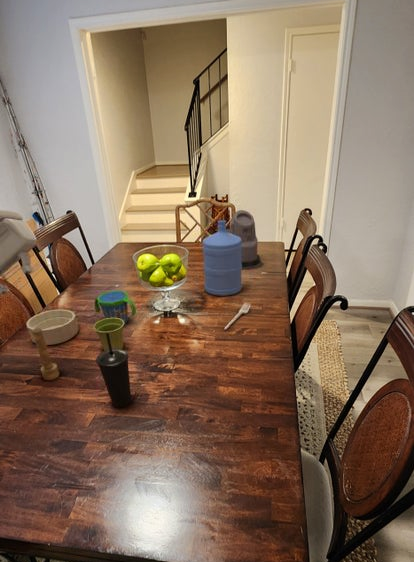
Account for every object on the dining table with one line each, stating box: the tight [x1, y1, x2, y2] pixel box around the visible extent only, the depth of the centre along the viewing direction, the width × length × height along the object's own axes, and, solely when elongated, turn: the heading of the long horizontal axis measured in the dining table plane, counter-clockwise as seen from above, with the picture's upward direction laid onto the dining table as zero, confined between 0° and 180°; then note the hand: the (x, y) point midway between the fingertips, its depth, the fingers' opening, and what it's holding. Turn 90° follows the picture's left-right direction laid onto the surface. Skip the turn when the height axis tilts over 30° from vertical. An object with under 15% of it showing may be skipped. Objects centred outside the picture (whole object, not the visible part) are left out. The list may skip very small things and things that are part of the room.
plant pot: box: [92, 318, 125, 352], centre depth 117 cm, size 9×9×9 cm
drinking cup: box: [95, 333, 132, 408], centre depth 90 cm, size 8×8×20 cm
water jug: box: [202, 219, 243, 297], centre depth 150 cm, size 16×16×28 cm
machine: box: [226, 209, 263, 270], centre depth 183 cm, size 30×16×24 cm, turn 19°
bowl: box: [25, 308, 80, 346], centre depth 127 cm, size 16×16×6 cm
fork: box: [224, 302, 251, 330], centre depth 133 cm, size 3×20×2 cm, turn 152°
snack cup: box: [94, 290, 137, 324], centre depth 132 cm, size 16×10×10 cm
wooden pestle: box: [32, 328, 60, 381], centre depth 103 cm, size 4×4×15 cm
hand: (16, 283), depth 89 cm, fingers open, 8 cm apart
